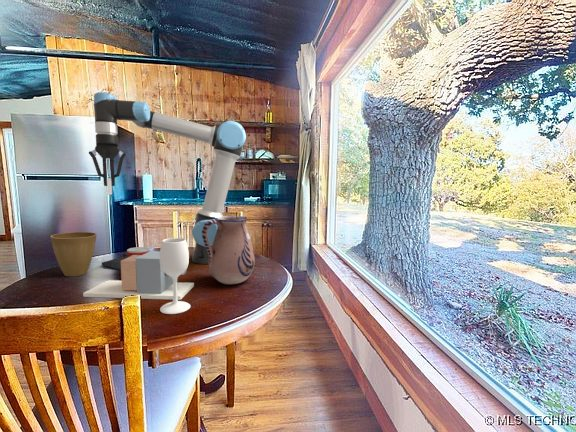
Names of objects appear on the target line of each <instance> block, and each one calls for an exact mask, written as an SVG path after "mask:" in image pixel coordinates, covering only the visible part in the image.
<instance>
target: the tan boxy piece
mask: <svg viewBox="0 0 576 432" xmlns="http://www.w3.org/2000/svg"><path fill="white" fill-rule="evenodd" d="M139 256H142V255H132V256H130V257H128V258H126V259H124V260H121V270H120V278H121V280H120V281H122V290H136V291H137V277H136V258H137V257H139ZM186 274H187V269H186V270H185V271H184V272H183V273H182V274H181V275H186Z"/></svg>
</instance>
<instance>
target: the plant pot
mask: <svg viewBox="0 0 576 432" xmlns="http://www.w3.org/2000/svg"><path fill="white" fill-rule="evenodd" d="M97 236H98V235H97V233H96V232H91V231H75V232H74V231H73V232H61V233H56V234H51V235H50V241H51V245H52V249H53V253H54V256H55V259H56V261H57V263H58V266H59V267H60V270H61V272H62V273H63V275H64V276H65V277H77V276H78V277H80V276H83V275H85V274H87V273H88V270H89V267H90V265H91V263H92V260H93V256H94V251H95V248H96V239H97Z"/></svg>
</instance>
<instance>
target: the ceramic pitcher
mask: <svg viewBox="0 0 576 432" xmlns="http://www.w3.org/2000/svg"><path fill="white" fill-rule="evenodd" d="M213 224H216V225H217V226H218V228H217V232H216V235H215V238H214V241H213V244H212V247H211V246H210V244H209V241H208V237H207V231H208V229H209V227H210V226H211V225H213ZM202 238H203V241H204V244H205V247H206V249H207V252H208V255H209V261H208V264H207V265H208V269H209V272H210V274H211V275H212V278H214V279H215V280H216V281H217V282H219V283H221V284H223V285H238V284H241V283H243V282H245V281H246V280H247V279H248V278H249V277H250V276H251V274H252V272H253V271H254V268H255V261H256V260H255V251H254V248H253V247H254V246H253V244H252V240H251V235H250V234H249V231H248V228H247V216H242V215H241V216H239V215H238V216H234V215H223V216H221V217H216V218H215V219H212V220H209V221H207V222H206V223H205V224H204V227H203V229H202Z"/></svg>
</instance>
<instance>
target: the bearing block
mask: <svg viewBox="0 0 576 432" xmlns="http://www.w3.org/2000/svg"><path fill="white" fill-rule="evenodd" d="M136 277H137V291H136V290H122V280H113V279H112V280H110V279H108V280H106V281H103V282H102V283H99V284H97V285H96V286H94V287H92V288H90V289H88V290H87V291H84V292H83V293H82V297H84V298H109V299H111V298H114V299H124V298H123V297H125V296H131V295H140V296H141V300H143V299H144V300H146V299H148V300H168V301H169V300H170V301H171V300H172V301H173V279H172V277H171V276H169V275H167V274H165V273H164V272H163V270H162V269H161V266H160V250H159V251H156V250H149V252H148V253H146V254H144V255H142V256H139V257H137V258H136ZM194 287H195V282H179V281H177V299H178V301H182V299H183V298H184V297H185V296H186V295H187V294H188V293H189V292H190V291H191V290H192V289H193V288H194Z"/></svg>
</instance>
